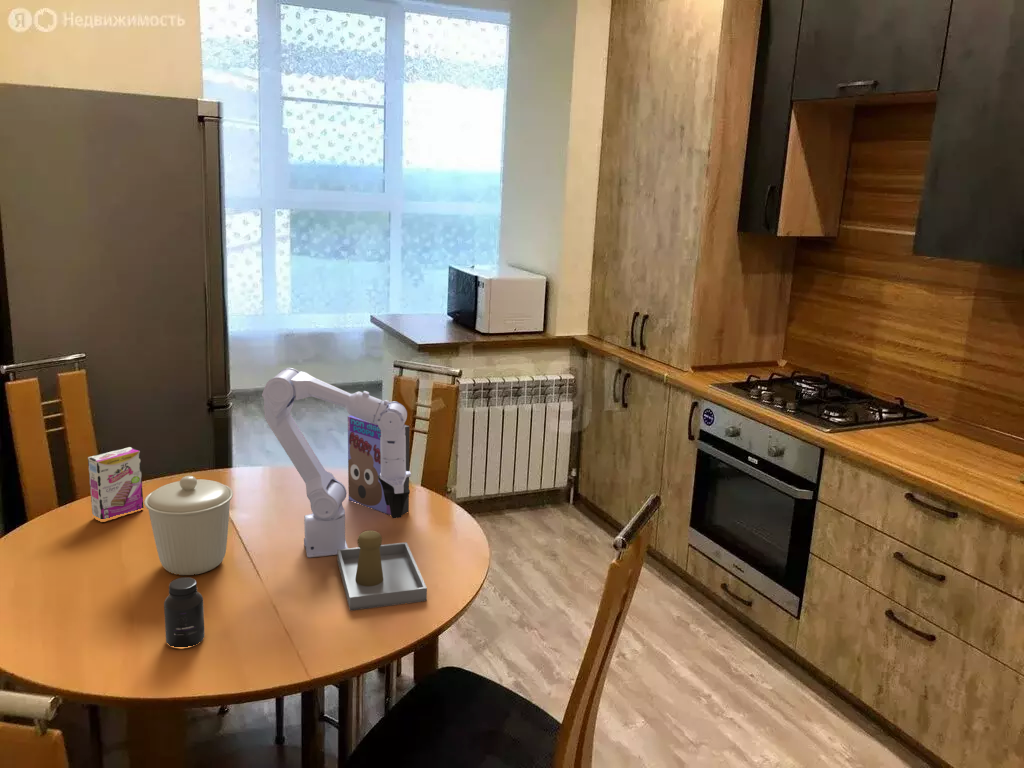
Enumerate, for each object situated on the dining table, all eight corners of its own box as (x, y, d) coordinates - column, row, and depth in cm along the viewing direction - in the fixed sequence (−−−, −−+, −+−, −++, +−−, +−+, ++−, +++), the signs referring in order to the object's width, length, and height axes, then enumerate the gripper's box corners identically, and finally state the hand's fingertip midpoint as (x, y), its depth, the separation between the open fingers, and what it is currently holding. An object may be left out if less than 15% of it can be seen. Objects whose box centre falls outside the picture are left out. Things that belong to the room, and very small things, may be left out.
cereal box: (348, 500, 220) (347, 415, 213) (361, 495, 223) (360, 411, 217) (396, 517, 210) (396, 429, 204) (408, 512, 214) (409, 425, 208)
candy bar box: (102, 524, 199) (96, 461, 195) (92, 518, 202) (86, 456, 198) (145, 510, 208) (140, 450, 204) (134, 505, 211) (129, 445, 207)
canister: (135, 563, 181) (128, 475, 176) (212, 539, 194) (207, 456, 189) (172, 593, 169) (165, 499, 164) (251, 565, 182) (247, 478, 177)
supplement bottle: (181, 654, 149) (177, 596, 146) (158, 642, 152) (153, 585, 149) (213, 637, 154) (209, 581, 151) (189, 626, 158) (186, 570, 155)
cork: (360, 588, 173) (360, 541, 170) (351, 575, 178) (352, 529, 176) (387, 583, 176) (388, 536, 173) (378, 570, 181) (378, 525, 178)
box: (349, 610, 166) (349, 597, 165) (337, 561, 186) (337, 549, 185) (426, 600, 171) (426, 588, 170) (406, 553, 191) (406, 542, 190)
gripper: (416, 465, 180) (416, 521, 184) (404, 444, 193) (404, 497, 197) (385, 468, 178) (385, 525, 181) (374, 446, 191) (375, 500, 195)
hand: (393, 510), depth 189 cm, fingers open, 7 cm apart
